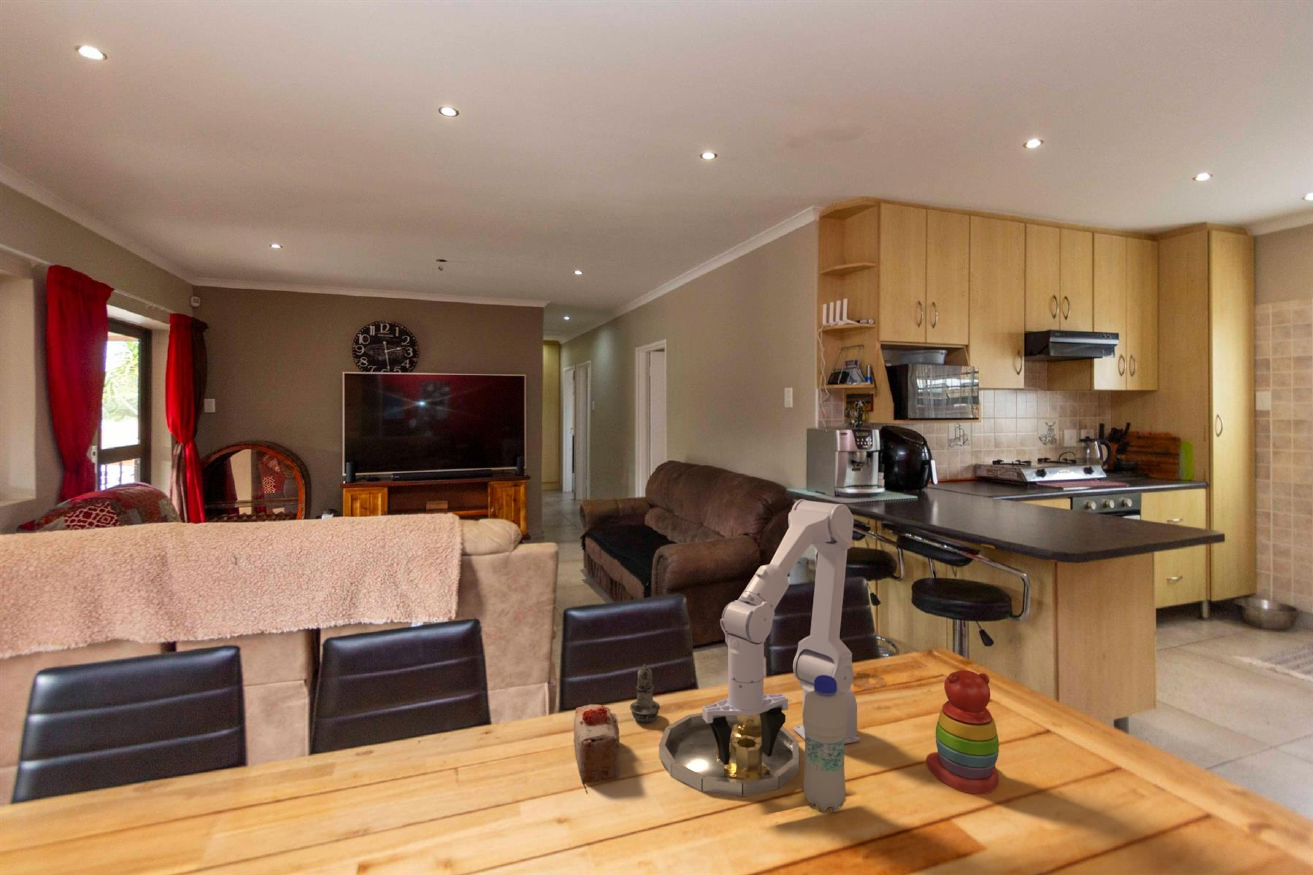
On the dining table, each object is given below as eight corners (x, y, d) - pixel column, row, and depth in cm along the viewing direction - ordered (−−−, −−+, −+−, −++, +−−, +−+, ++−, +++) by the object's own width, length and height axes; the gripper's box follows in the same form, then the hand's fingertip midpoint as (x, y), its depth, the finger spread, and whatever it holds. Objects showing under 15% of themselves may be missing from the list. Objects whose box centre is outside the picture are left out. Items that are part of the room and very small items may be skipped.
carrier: (758, 718, 126) (758, 685, 125) (828, 786, 103) (828, 745, 103) (642, 738, 118) (642, 703, 118) (689, 816, 95) (689, 772, 95)
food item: (570, 748, 115) (570, 695, 115) (614, 743, 117) (613, 690, 116) (579, 792, 102) (578, 732, 101) (628, 785, 104) (627, 726, 103)
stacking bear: (988, 762, 110) (990, 661, 109) (1012, 798, 100) (1014, 686, 99) (923, 758, 111) (924, 657, 111) (939, 792, 101) (941, 682, 101)
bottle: (847, 795, 101) (848, 670, 100) (845, 821, 94) (846, 688, 93) (804, 787, 103) (804, 665, 102) (799, 812, 96) (800, 682, 96)
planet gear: (774, 769, 106) (774, 737, 105) (761, 792, 99) (761, 758, 99) (733, 759, 109) (733, 728, 109) (717, 780, 103) (718, 747, 102)
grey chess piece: (661, 717, 126) (661, 658, 126) (658, 732, 120) (658, 670, 120) (632, 716, 127) (631, 657, 126) (627, 731, 121) (627, 669, 120)
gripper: (773, 661, 110) (773, 738, 110) (695, 672, 105) (695, 752, 106) (794, 677, 103) (794, 759, 104) (712, 689, 99) (712, 775, 99)
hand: (745, 757), depth 104 cm, fingers open, 7 cm apart
